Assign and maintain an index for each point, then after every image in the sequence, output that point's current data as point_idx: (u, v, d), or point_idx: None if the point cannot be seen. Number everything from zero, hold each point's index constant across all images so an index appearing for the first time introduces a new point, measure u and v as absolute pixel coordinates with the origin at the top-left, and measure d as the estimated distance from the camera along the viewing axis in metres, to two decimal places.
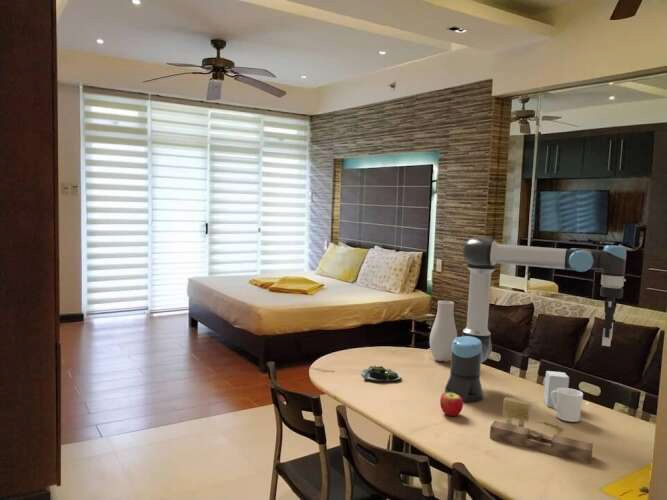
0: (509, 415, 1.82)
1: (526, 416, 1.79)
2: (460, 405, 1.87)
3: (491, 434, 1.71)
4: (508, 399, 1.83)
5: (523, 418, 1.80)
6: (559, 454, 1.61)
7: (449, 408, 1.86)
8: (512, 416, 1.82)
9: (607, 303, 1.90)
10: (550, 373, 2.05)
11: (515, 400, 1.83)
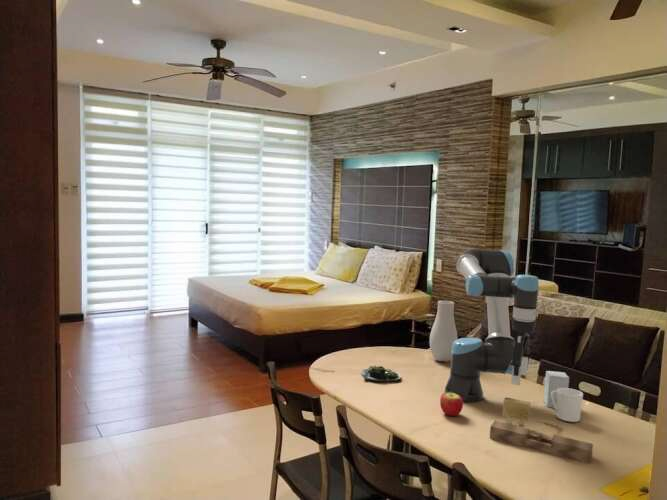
0: (509, 415, 1.82)
1: (526, 416, 1.79)
2: (460, 405, 1.87)
3: (491, 434, 1.71)
4: (508, 399, 1.83)
5: (523, 418, 1.80)
6: (559, 454, 1.61)
7: (449, 408, 1.86)
8: (512, 416, 1.82)
9: (516, 338, 1.75)
10: (550, 373, 2.05)
11: (515, 400, 1.83)
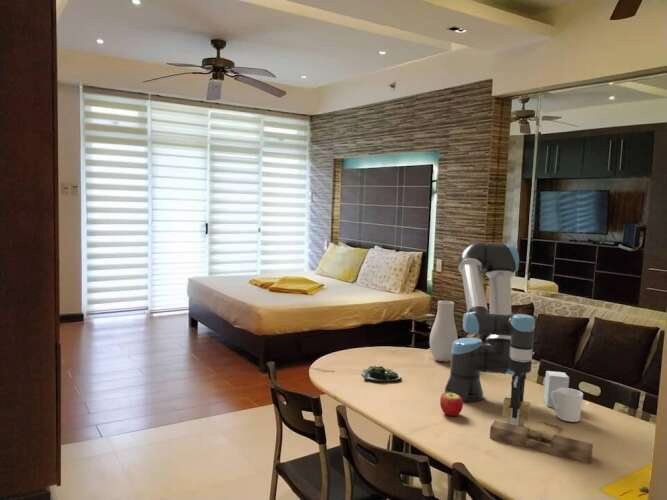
0: (509, 415, 1.82)
1: (526, 416, 1.79)
2: (460, 405, 1.87)
3: (491, 434, 1.71)
4: (508, 399, 1.83)
5: (523, 418, 1.80)
6: (559, 454, 1.61)
7: (449, 408, 1.86)
8: None
9: (512, 384, 1.77)
10: (550, 373, 2.05)
11: None
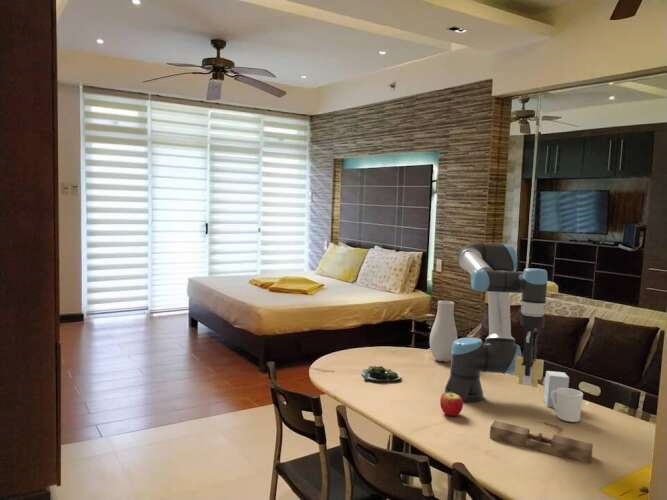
0: (521, 374, 1.74)
1: (539, 374, 1.72)
2: (460, 405, 1.87)
3: (491, 434, 1.71)
4: (520, 357, 1.76)
5: (536, 376, 1.72)
6: (559, 454, 1.61)
7: (449, 408, 1.86)
8: None
9: (525, 339, 1.69)
10: (550, 373, 2.05)
11: None
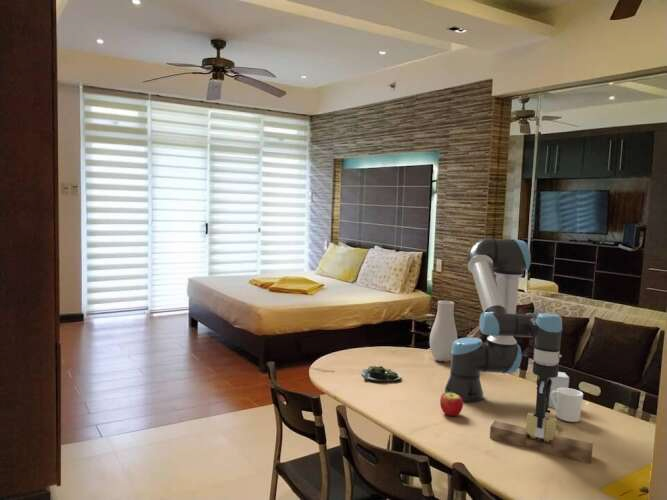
0: (533, 432, 1.66)
1: (552, 434, 1.63)
2: (460, 405, 1.87)
3: (491, 434, 1.71)
4: (532, 415, 1.67)
5: (549, 436, 1.63)
6: (559, 454, 1.61)
7: (449, 408, 1.86)
8: None
9: (538, 390, 1.60)
10: None
11: None
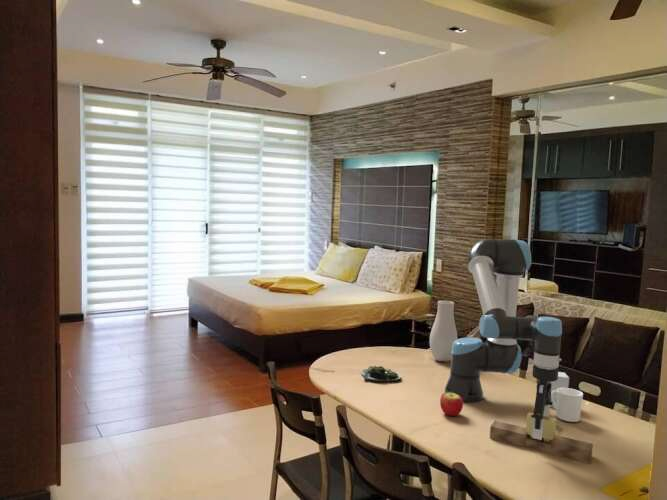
0: None
1: (552, 434, 1.63)
2: (460, 405, 1.87)
3: (491, 434, 1.71)
4: None
5: (549, 436, 1.63)
6: (559, 454, 1.61)
7: (449, 408, 1.86)
8: None
9: (538, 388, 1.60)
10: None
11: None
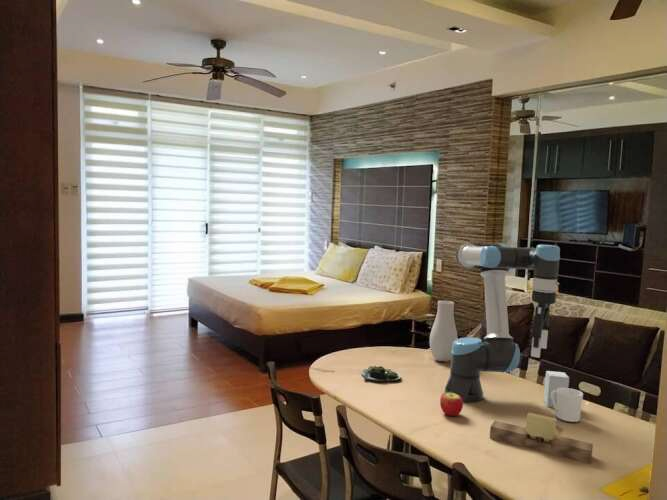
0: (533, 432, 1.66)
1: (552, 434, 1.63)
2: (460, 405, 1.87)
3: (491, 434, 1.71)
4: (532, 415, 1.67)
5: (549, 436, 1.63)
6: (559, 454, 1.61)
7: (449, 408, 1.86)
8: (536, 434, 1.65)
9: (536, 309, 1.70)
10: (550, 373, 2.05)
11: (539, 416, 1.66)
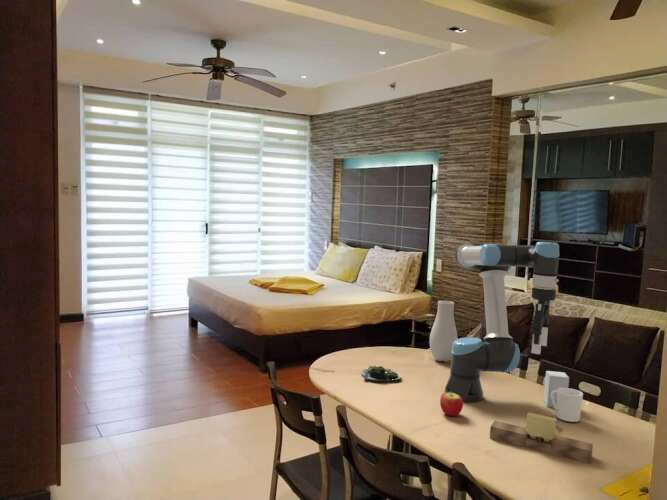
0: (533, 432, 1.66)
1: (552, 434, 1.63)
2: (460, 405, 1.87)
3: (491, 434, 1.71)
4: (532, 415, 1.67)
5: (549, 436, 1.63)
6: (559, 454, 1.61)
7: (449, 408, 1.86)
8: (536, 434, 1.65)
9: (537, 306, 1.70)
10: (550, 373, 2.05)
11: (539, 416, 1.66)
